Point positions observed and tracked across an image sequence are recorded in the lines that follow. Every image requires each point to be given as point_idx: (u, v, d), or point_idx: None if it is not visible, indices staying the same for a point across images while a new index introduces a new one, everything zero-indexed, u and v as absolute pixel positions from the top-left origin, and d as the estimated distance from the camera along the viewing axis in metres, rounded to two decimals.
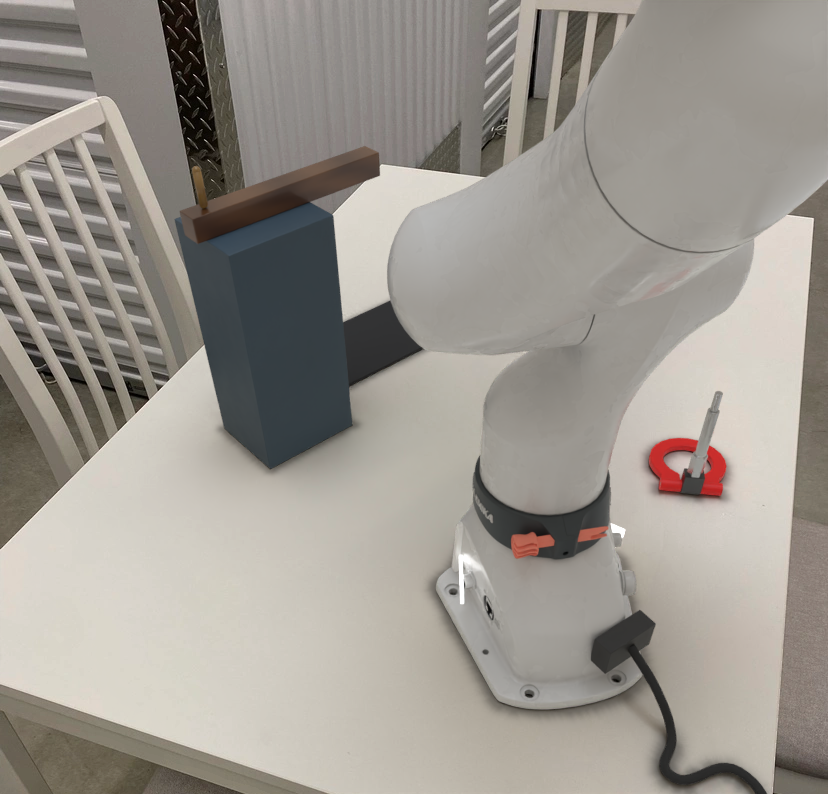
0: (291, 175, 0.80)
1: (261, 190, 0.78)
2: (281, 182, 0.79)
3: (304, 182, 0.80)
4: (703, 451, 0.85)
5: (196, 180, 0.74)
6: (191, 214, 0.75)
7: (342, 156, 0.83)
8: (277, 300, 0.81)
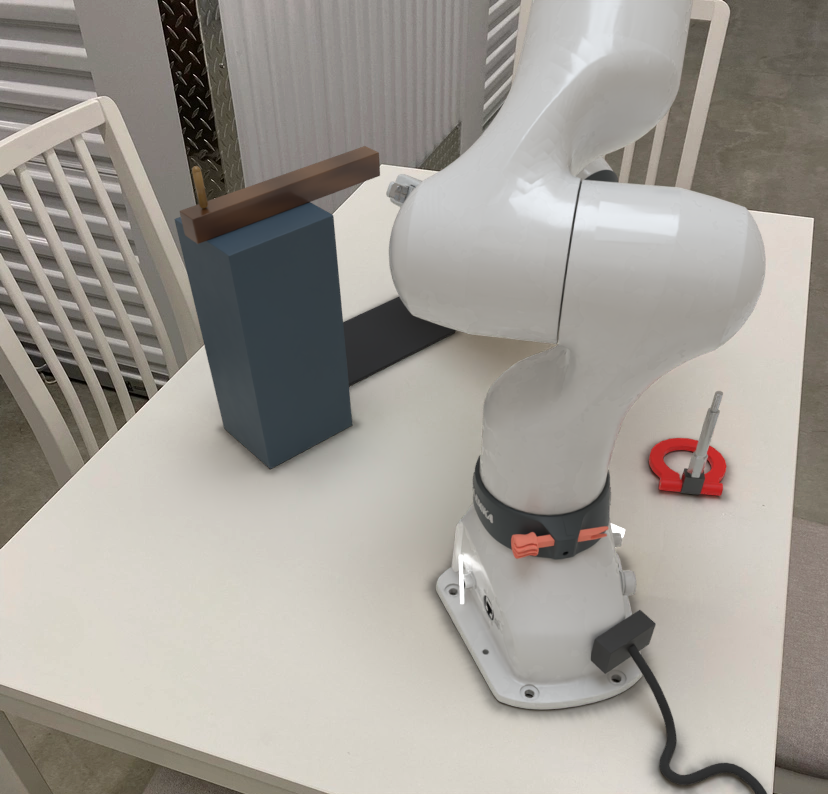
0: (291, 175, 0.80)
1: (261, 190, 0.78)
2: (281, 182, 0.79)
3: (304, 182, 0.80)
4: (703, 451, 0.85)
5: (196, 180, 0.74)
6: (191, 214, 0.75)
7: (342, 156, 0.83)
8: (277, 300, 0.81)
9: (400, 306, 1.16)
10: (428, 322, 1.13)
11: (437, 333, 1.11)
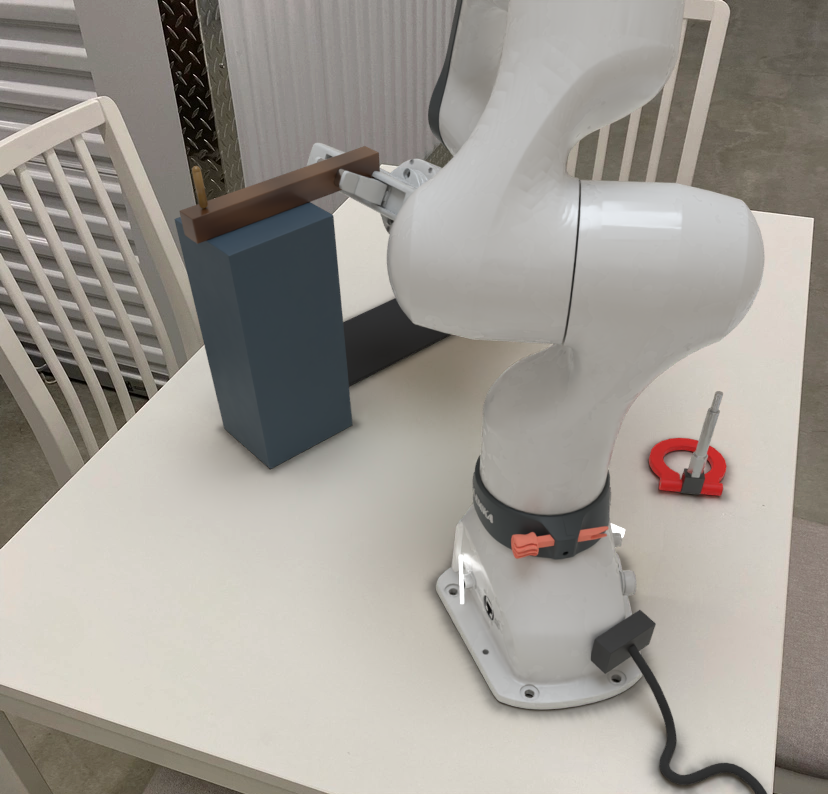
0: (291, 175, 0.80)
1: (261, 190, 0.78)
2: (281, 182, 0.79)
3: (303, 182, 0.80)
4: (703, 451, 0.85)
5: (196, 180, 0.74)
6: (191, 214, 0.75)
7: (342, 155, 0.83)
8: (277, 300, 0.81)
9: None
10: None
11: (437, 333, 1.11)
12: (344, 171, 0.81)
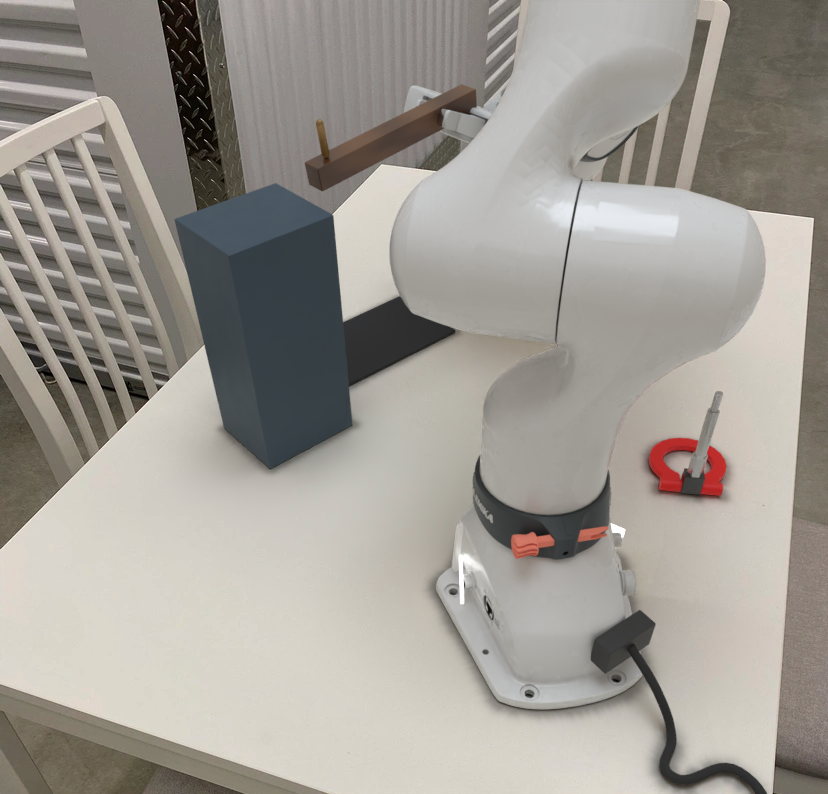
0: (398, 119, 0.87)
1: (374, 136, 0.85)
2: (391, 127, 0.86)
3: (411, 124, 0.87)
4: (703, 451, 0.85)
5: (320, 132, 0.81)
6: (315, 164, 0.83)
7: (442, 96, 0.90)
8: (277, 300, 0.81)
9: (400, 306, 1.16)
10: (428, 322, 1.13)
11: (437, 333, 1.11)
12: (446, 110, 0.88)
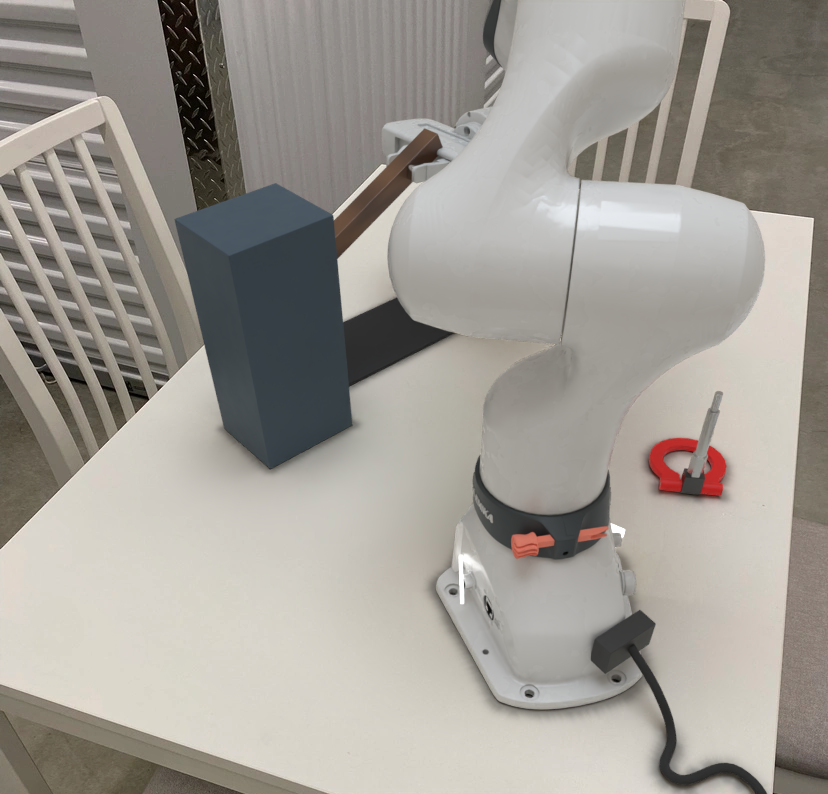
0: (371, 187, 0.96)
1: (352, 214, 0.95)
2: (366, 199, 0.95)
3: (383, 191, 0.95)
4: (703, 451, 0.85)
5: None
6: None
7: (408, 148, 0.96)
8: (277, 300, 0.81)
9: (400, 306, 1.16)
10: None
11: (437, 333, 1.11)
12: (413, 167, 0.95)
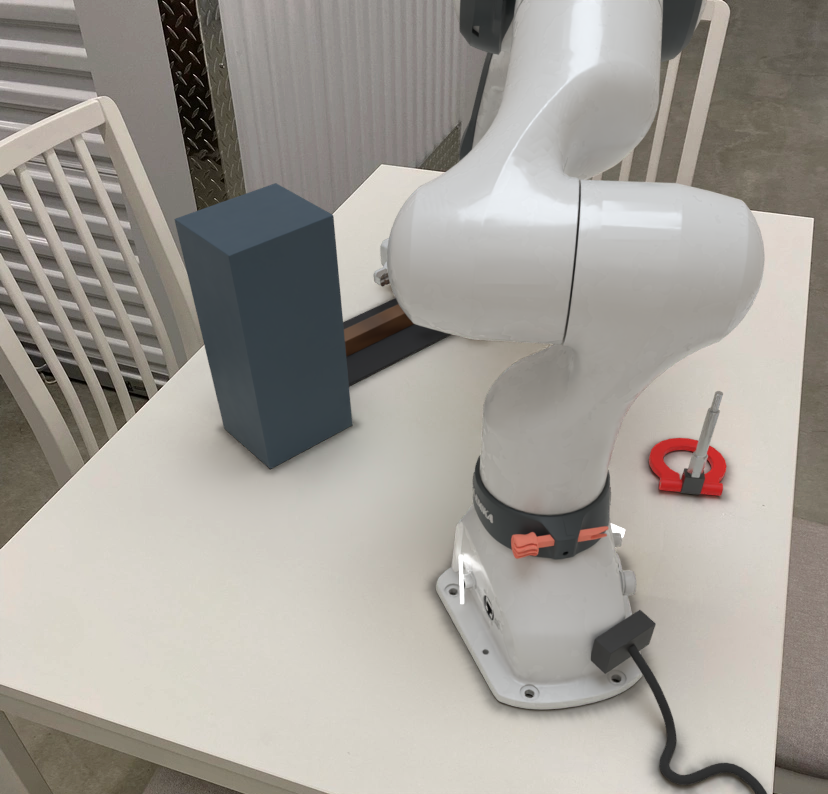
0: (379, 316, 1.10)
1: (359, 330, 1.08)
2: (373, 323, 1.09)
3: (388, 322, 1.10)
4: (703, 451, 0.85)
5: None
6: None
7: None
8: (277, 300, 0.81)
9: None
10: None
11: (437, 333, 1.11)
12: None
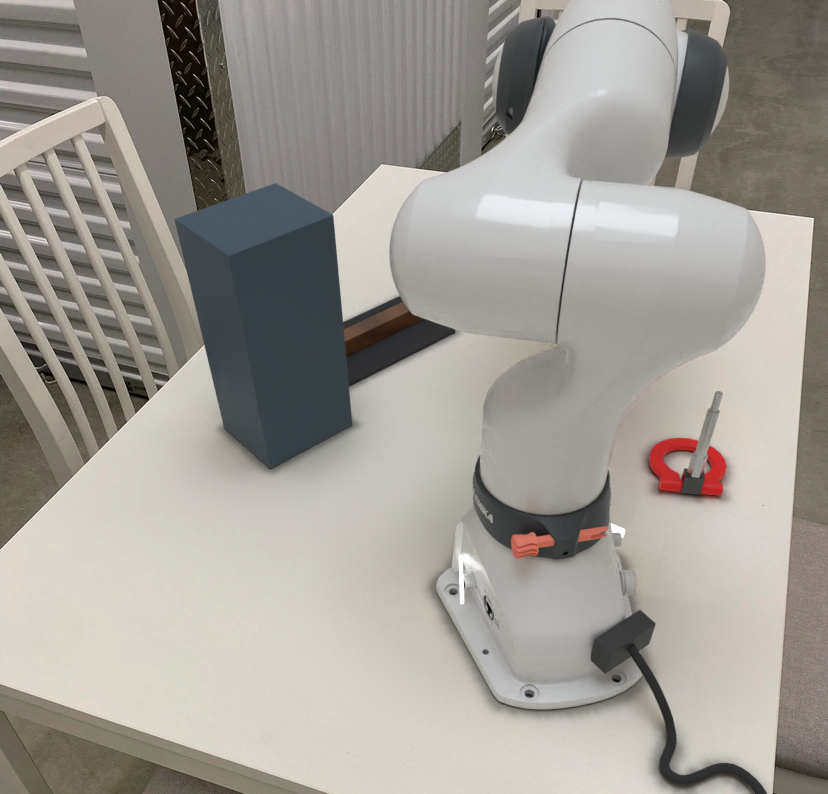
0: (379, 316, 1.10)
1: (359, 330, 1.08)
2: (373, 323, 1.09)
3: (388, 322, 1.10)
4: (703, 451, 0.85)
5: None
6: None
7: None
8: (277, 300, 0.81)
9: None
10: (428, 322, 1.13)
11: (437, 333, 1.11)
12: None
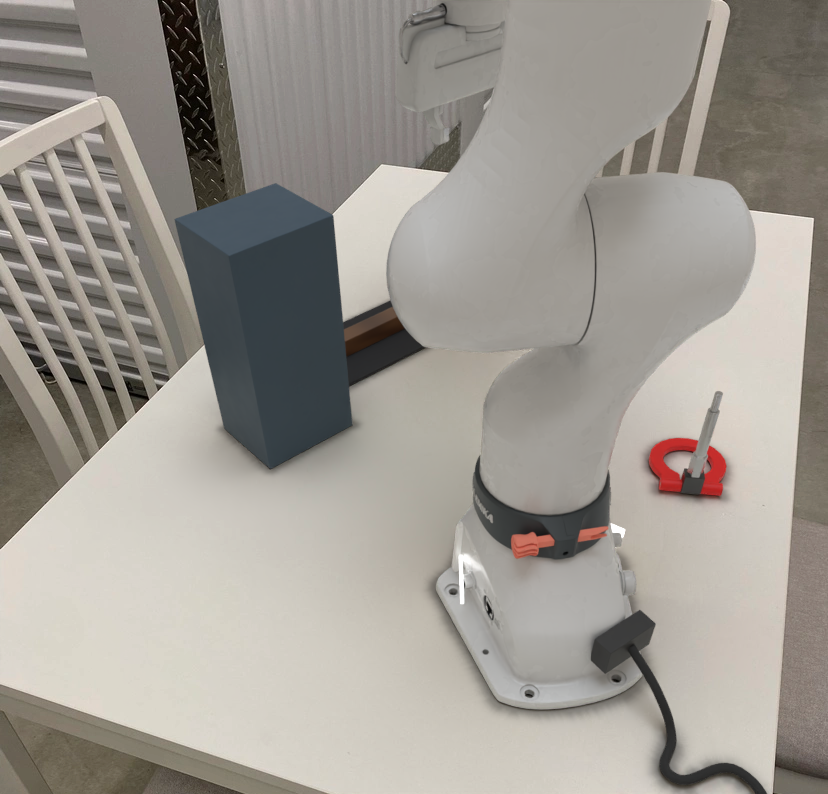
0: (379, 316, 1.10)
1: (359, 330, 1.08)
2: (373, 323, 1.09)
3: (388, 322, 1.10)
4: (703, 451, 0.85)
5: None
6: None
7: None
8: (277, 300, 0.81)
9: None
10: None
11: None
12: None
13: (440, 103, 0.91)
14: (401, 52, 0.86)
